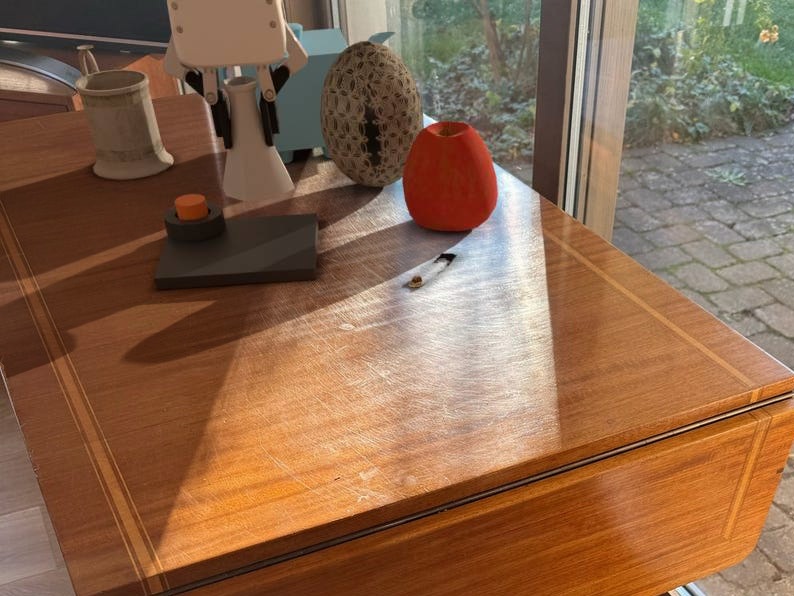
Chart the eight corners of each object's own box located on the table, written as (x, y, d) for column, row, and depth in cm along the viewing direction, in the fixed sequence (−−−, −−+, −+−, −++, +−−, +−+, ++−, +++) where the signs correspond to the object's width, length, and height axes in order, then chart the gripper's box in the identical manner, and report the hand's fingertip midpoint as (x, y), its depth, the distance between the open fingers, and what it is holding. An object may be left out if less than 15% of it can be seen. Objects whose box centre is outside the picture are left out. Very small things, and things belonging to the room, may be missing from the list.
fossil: (442, 257, 103) (442, 250, 103) (458, 260, 103) (458, 252, 102) (405, 289, 98) (404, 281, 98) (422, 292, 98) (421, 283, 97)
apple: (416, 248, 104) (408, 143, 97) (396, 211, 111) (388, 111, 104) (508, 235, 106) (508, 131, 98) (483, 200, 113) (481, 100, 106)
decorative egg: (426, 164, 121) (418, 25, 111) (428, 201, 113) (419, 54, 103) (331, 168, 121) (314, 29, 111) (326, 206, 113) (307, 59, 102)
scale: (156, 290, 99) (148, 260, 97) (174, 230, 109) (167, 203, 107) (315, 279, 100) (311, 250, 97) (319, 222, 110) (315, 194, 108)
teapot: (235, 170, 121) (211, 44, 112) (231, 140, 129) (208, 20, 119) (410, 152, 124) (401, 28, 115) (396, 124, 132) (387, 5, 122)
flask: (307, 191, 99) (291, 82, 92) (241, 209, 96) (219, 98, 89) (275, 171, 103) (257, 64, 96) (211, 187, 100) (188, 79, 93)
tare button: (176, 223, 104) (172, 206, 103) (180, 211, 106) (176, 194, 105) (207, 221, 104) (203, 204, 103) (210, 209, 106) (206, 193, 105)
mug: (186, 166, 123) (161, 58, 115) (111, 185, 119) (80, 75, 110) (139, 136, 131) (113, 34, 123) (68, 153, 127) (36, 49, 119)
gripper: (307, -99, 86) (335, 125, 99) (118, -90, 86) (170, 135, 99) (304, -83, 81) (334, 151, 94) (103, -73, 80) (160, 162, 93)
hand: (250, 141), depth 96 cm, fingers closed on flask, 3 cm apart
